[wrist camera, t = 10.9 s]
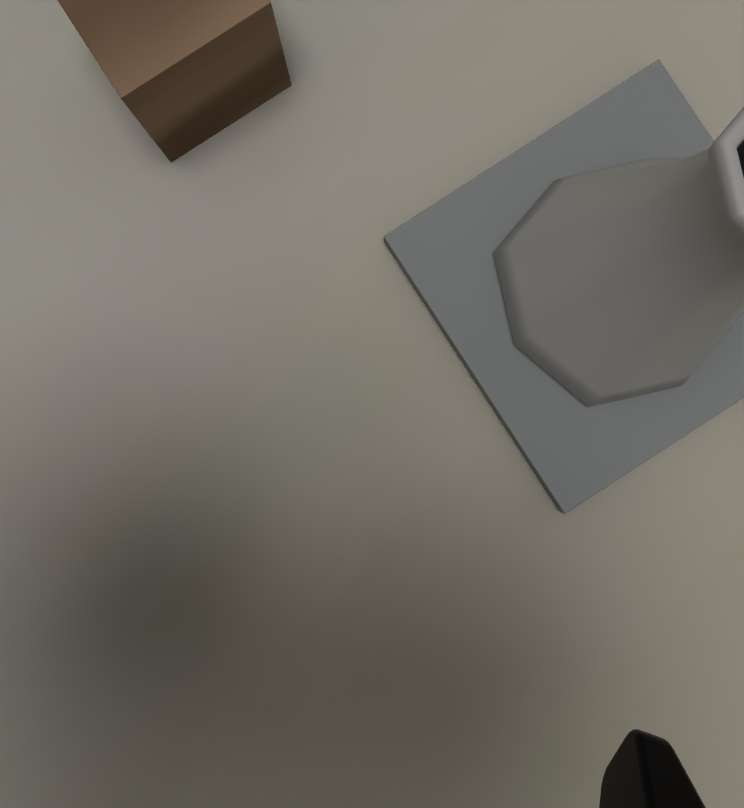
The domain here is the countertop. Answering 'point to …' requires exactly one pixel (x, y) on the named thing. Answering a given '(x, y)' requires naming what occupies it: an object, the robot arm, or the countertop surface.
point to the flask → (630, 271)
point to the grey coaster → (487, 315)
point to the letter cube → (184, 61)
